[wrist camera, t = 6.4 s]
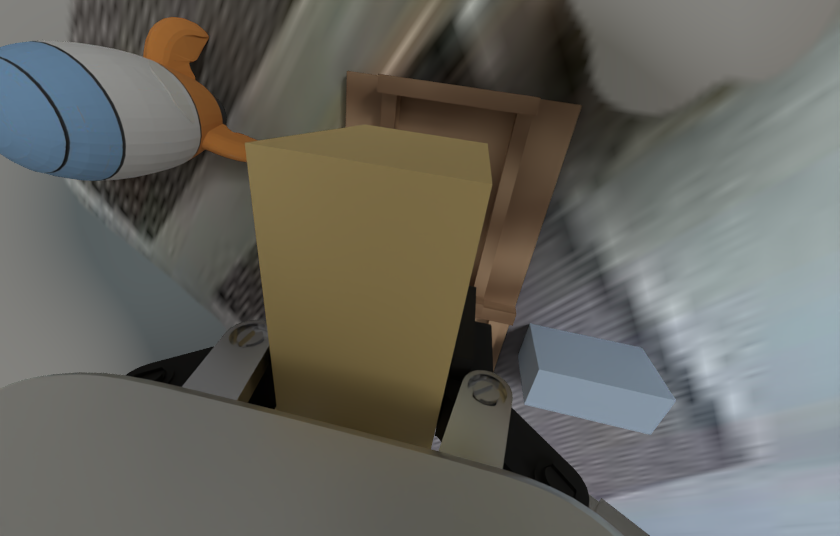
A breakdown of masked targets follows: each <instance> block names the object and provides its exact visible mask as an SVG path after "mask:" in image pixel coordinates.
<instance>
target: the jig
mask: <svg viewBox="0 0 840 536" xmlns="http://www.w3.org/2000/svg"><path fill="white" fill-rule="evenodd" d="M581 107H582V105H577V104H570V103H563V102H557V101H550V100H543V99H541V98H540V97H533V96H526V95H520V94H513V93H506V92H499V91H492V90H485V89H478V88H472V87H465V86H458V85H451V84H444V83H437V82H430V81H423V80H417V79H410V78H403V77H396V76H389V75H382V74H378V75H372V74H365V73H358V72H351V71H347V91H346V127H352V126H359V125H371V126H378V127H384V128H391V129H397V130H404V131H410V132H416V133H423V134H429V135H436V136H442V137H449V138H455V139H461V140H468V141H474V142H481V143H487V144H488V151H489V159H490V168H491V176H492V188H491V193H490V197H489V201H488V205H487V210H486V214H485V218H484V223H483V227H482V231H481V235H480V240H479V244H478V248H477V253H476V257H475V261H474V266H473V270H472V274H471V278H470V283H469V286H474V287H476V310H475V321H477V322H481V323H486V324H491V326H492V349H493V372H494V369H495V366H496V363H497V360H498V357H499V354H500V351H501V348H502V345H503V342H504V339H505V336H506V333H507V330H508V327H509V325H512V326H513V323H514V320H515V317H516V309H515V306H516V303H517V299H518V296H519V293H520V290H521V287H522V284H523V281H524V278H525V275H526V272H527V269H528V266H529V263H530V260H531V257H532V254H533V251H534V248H535V245H536V242H537V239H538V236H539V233H540V230H541V227H542V224H543V221H544V218H545V215H546V212H547V209H548V206H549V203H550V200H551V197H552V194H553V191H554V188H555V185H556V182H557V179H558V176H559V173H560V170H561V167H562V164H563V161H564V158H565V155H566V152H567V149H568V146H569V143H570V140H571V137H572V134H573V131H574V128H575V125H576V122H577V119H578V116H579V113H580V110H581Z"/></svg>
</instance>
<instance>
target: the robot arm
mask: <svg viewBox="0 0 840 536" xmlns="http://www.w3.org/2000/svg"><path fill="white" fill-rule="evenodd" d="M475 310H476V287H474V286H469V287H468V291H467V296H466V300H465V304H464V309H463V313H462V317H461V321H460V326H459V330H458V334H457V339H456V343H455V347H454V351H453V356H452V360H451V364H450V369H449V373H448V377H447V382H446V386H445V390H444V394H443V399H442V403H441V407H440V412H439V416H438V420H437V424H436V425H437V426H436V432H435V436H437V437H438V438H439V439H440V441H441V445H440V448H439V451H435V450H431V449H427V448H424V447H420V446H416V445H412V444H408V443H404V442H400V441H396V440H393V439H389V438H385V437H381V436H377V435H373V434H369V433H365V432H361V431H358V430H354V429H350V428H346V427H342V426H338V425H334V424H330V423H326V422H322V421H318V420H314V419H310V418H306V417H302V416H298V415H294V414H290V413H286V412H282V411H278V410H277V405H276V396H275V388H274V380H273V372H272V363H271V355H270V347H269V339H268V331H267V322H266V321H261V320H251V321H246V322H242V323H239V324H237V325H235V326H233V327H231V328H230V329H229V330H228V331H227V332H226V333H225V334H224V335H223V336H222V338H221V339H220V340H219V341H218V343H217V344H216V345H215V346H214V347H210V348H206V349H203V350H199V351H195V352H191V353H188V354H184V355H180V356H177V357H173V358H169V359H166V360H161V361H158V362H154V363H150V364H147V365H145V366H141V367H139V368H137V369H135V370H133V371H131V372H129V373H128V374H127V375H117V374H107V373H80V372H79V373H65V374H53V375H47V376H40V377H35V378H30V379H25V380H22V381H18V382H15V383H12V384H9V385H7V386H5V387H2V388H0V536H650V535H648V534H647V533H646V532H644V531H643V530H642V529H641V528H639V527H638V526H637V525H635V524H634V523H633V522H632V521H630V520H629V519H628V518H626V517H625V516H624V515H623V514H621V513H620V512H619V511H617V510H616V509H615V508H614V507H612V506H611V505H610V504H608V503H607V502H606V501H605V500H603V499H602V498H601V499H600V501H599V502H598V501H597V500H596V499H595V498H593V497H592V496H591V495H589V494H588V490H587V487H586V485H585V483H584V482H583V480H582V478H581V477H580V475H579V474H578V473H577V472H576V471H575V469H574V468H573V467H572V466H571V465H570V464H569V463H568V462H567V461H566V460H564V459H563V458H562V457H561V456H560V455H559V454H558V453H557V452H556V451H555V450H554V449H553V448H552V447H551V446H550V445H549V444H548V443H547V442H546V441H545V440H544V439H543V438H542V437H541V436H540V435H539V434H538V433H537V432H536V431H535V430H534V429H533V428H532V427H531V426H530V425H529V424H528V423H527V422H526V421H525V420H524V419H523V418H522V417H521V416H520V415H519V414H518V413H517V412H516V411H515V410H514V409H513V408H512V401H513V395H512V391H511V388H510V386H509V385H508V384H507V382H506V381H505V380H504V379H502V378H501V377H500V376H498V375H496V374H494V373H493V349H492V326H491V324H486V323H481V322H477V321H475Z"/></svg>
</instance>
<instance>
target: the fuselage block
mask: <svg viewBox="0 0 840 536" xmlns="http://www.w3.org/2000/svg"><path fill="white" fill-rule="evenodd" d="M245 150H246V158H247V166H248V174H249V183H250V191H251V199H252V207H253V216H254V224H255V232H256V240H257V248H258V257H259V265H260V273H261V281H262V290H263V298H264V306H265V314H266V322H267V331H268V339H269V347H270V355H271V363H272V372H273V380H274V388H275V396H276V405H277V410H278V411H282V412H286V413H290V414H294V415H298V416H302V417H306V418H310V419H314V420H318V421H322V422H326V423H330V424H334V425H338V426H342V427H346V428H350V429H354V430H358V431H361V432H365V433H369V434H373V435H377V436H381V437H385V438H389V439H393V440H396V441H400V442H404V443H408V444H412V445H416V446H420V447H424V448H427V449H431V446H432V442H433V437H434V433H435V429H436V424H437V420H438V416H439V412H440V407H441V403H442V399H443V394H444V390H445V386H446V382H447V377H448V373H449V369H450V364H451V360H452V356H453V351H454V347H455V343H456V339H457V334H458V330H459V326H460V321H461V317H462V313H463V309H464V304H465V300H466V296H467V291H468V287H469V283H470V278H471V274H472V270H473V266H474V261H475V257H476V253H477V248H478V244H479V240H480V235H481V231H482V227H483V223H484V218H485V214H486V210H487V205H488V201H489V197H490V193H491V188H492V176H491V168H490V159H489V151H488V144H487V143H481V142H474V141H468V140H461V139H455V138H449V137H442V136H436V135H429V134H423V133H416V132H410V131H404V130H397V129H391V128H384V127H378V126H371V125H359V126H352V127H346V128H339V129H332V130H326V131H319V132H312V133H306V134H299V135H292V136H286V137H279V138H272V139H266V140H259V141H252V142H246V143H245Z"/></svg>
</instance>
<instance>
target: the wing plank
mask: <svg viewBox="0 0 840 536" xmlns="http://www.w3.org/2000/svg"><path fill="white" fill-rule="evenodd" d="M518 360H519V368H520V376H521V383H522V391H523V399H524V404H525V405H529V406H533V407H537V408H541V409H546V410H550V411H554V412H558V413H562V414H566V415H571V416H575V417H579V418H583V419H587V420H591V421H595V422H600V423H604V424H608V425H612V426H616V427H620V428H625V429H629V430H633V431H637V432H641V433H645V434H649V435H651V434H652V432H653V431H654V430H655V428H656V427H657V426H658V424H659V423H660V422H661V420H662V419H663V418H664V416H665V415H666V414H667V412H668V411H669V410H670V408H671V407H672V406H673V404H674V403H675V402H676V400H675V398H674V397H673V395H672V394H671V392H670V391H669V389H668V387H667V386H666V384H665V383H664V381H663V380H662V378H661V377H660V375H659V374H658V372H657V370H656V369H655V367H654V366H653V364H652V363H651V361H650V360H649V358H648V356H647V355H646V353H645V352H644V350H643V349H642V348H640V347H636V346H631V345H627V344H622V343H617V342H613V341H608V340H603V339H599V338H594V337H590V336H585V335H580V334H576V333H571V332H566V331H562V330H557V329H552V328H548V327H543V326H539V325H534V324H529V327H528V330H527V332H526V335H525V338H524V340H523V343H522V346H521V349H520V351H519V354H518Z"/></svg>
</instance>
